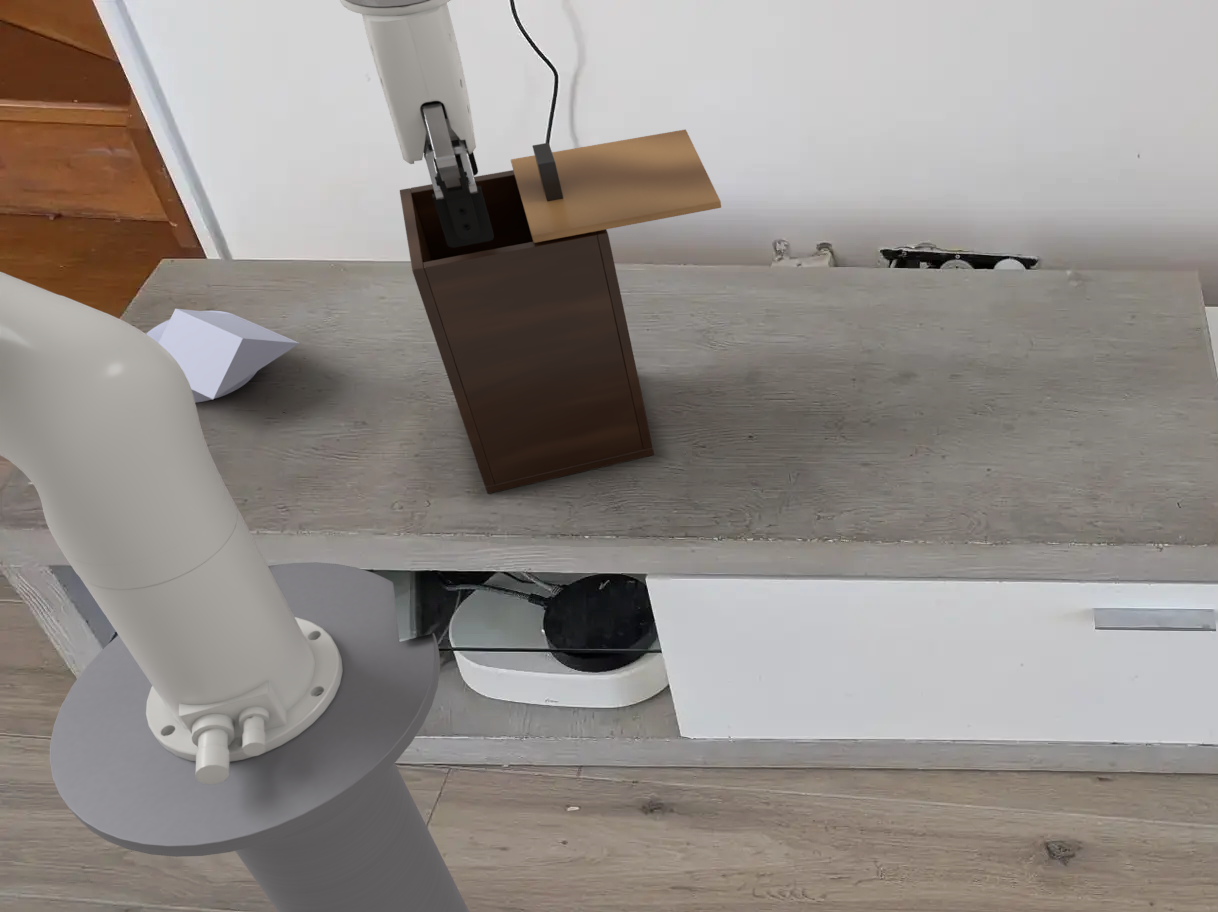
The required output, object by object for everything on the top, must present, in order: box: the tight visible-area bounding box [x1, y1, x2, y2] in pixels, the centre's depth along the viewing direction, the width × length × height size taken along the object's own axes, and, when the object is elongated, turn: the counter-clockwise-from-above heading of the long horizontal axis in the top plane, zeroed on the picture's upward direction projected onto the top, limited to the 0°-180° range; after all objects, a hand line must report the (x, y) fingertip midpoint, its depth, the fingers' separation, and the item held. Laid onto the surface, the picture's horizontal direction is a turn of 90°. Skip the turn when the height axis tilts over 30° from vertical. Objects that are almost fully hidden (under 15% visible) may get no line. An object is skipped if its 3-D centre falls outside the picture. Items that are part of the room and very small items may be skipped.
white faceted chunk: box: [145, 308, 300, 404], centre depth 115 cm, size 9×7×13 cm
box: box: [399, 169, 655, 494], centre depth 105 cm, size 12×14×21 cm
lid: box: [510, 129, 722, 243], centre depth 98 cm, size 12×14×4 cm
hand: (463, 208), depth 97 cm, fingers open, 9 cm apart
